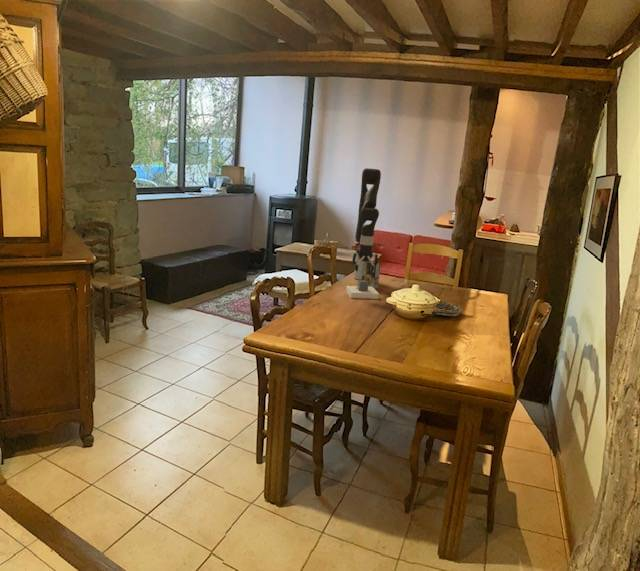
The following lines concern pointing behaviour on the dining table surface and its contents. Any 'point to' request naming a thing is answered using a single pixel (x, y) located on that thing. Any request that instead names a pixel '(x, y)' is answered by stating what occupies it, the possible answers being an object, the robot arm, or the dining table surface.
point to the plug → (362, 285)
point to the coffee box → (371, 274)
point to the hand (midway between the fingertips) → (363, 271)
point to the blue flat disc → (446, 310)
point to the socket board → (362, 292)
